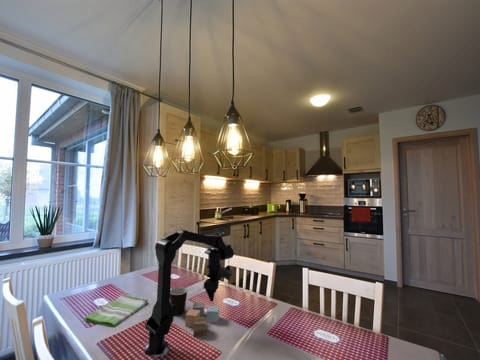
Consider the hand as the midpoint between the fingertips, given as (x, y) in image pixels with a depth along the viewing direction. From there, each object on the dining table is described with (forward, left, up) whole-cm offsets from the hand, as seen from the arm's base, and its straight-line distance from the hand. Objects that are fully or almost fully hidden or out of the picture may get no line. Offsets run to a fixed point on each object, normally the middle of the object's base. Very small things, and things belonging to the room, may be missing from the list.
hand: (213, 296), depth 106 cm
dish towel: (+4, +47, -11) cm, 48 cm away
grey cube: (0, 0, -10) cm, 11 cm away
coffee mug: (+7, +18, -11) cm, 22 cm away
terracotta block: (-4, +8, -10) cm, 14 cm away
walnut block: (-10, +4, -10) cm, 15 cm away
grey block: (+3, +7, -10) cm, 13 cm away
